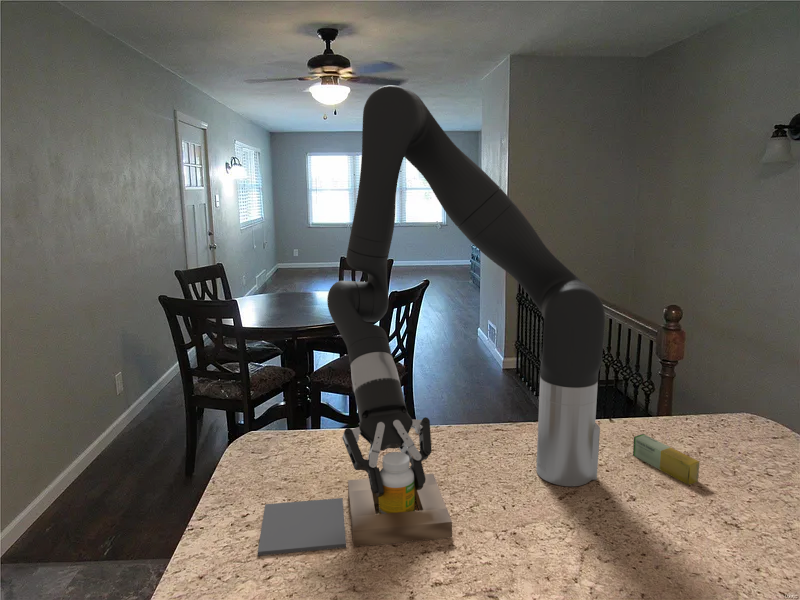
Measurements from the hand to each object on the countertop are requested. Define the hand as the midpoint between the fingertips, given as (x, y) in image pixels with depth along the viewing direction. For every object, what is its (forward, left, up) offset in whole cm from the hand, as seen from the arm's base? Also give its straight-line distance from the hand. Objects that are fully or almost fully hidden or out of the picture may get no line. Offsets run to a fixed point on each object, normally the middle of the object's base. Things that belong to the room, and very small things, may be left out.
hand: (400, 491), depth 86 cm
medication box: (-48, -10, -6) cm, 49 cm away
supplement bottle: (0, -2, -5) cm, 6 cm away
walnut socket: (0, -3, -5) cm, 6 cm away
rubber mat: (+14, -2, -5) cm, 15 cm away
